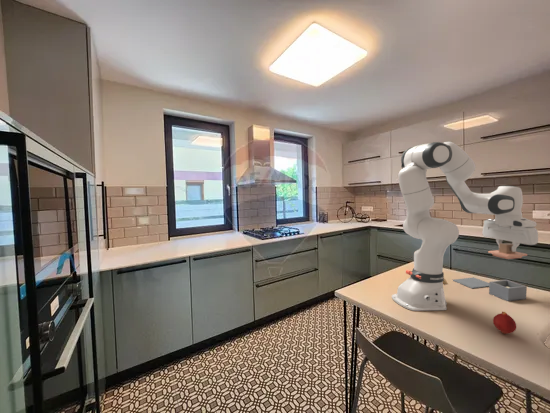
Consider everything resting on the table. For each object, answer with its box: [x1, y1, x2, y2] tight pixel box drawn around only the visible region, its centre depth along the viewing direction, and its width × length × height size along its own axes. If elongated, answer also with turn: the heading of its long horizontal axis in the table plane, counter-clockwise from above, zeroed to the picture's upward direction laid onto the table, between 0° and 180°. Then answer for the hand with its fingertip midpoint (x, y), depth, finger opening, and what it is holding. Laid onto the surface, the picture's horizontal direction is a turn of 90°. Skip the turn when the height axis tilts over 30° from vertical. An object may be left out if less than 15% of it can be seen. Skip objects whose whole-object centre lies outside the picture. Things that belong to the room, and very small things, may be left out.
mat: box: [452, 277, 489, 290], centre depth 124 cm, size 14×11×1 cm
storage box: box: [488, 279, 528, 302], centre depth 108 cm, size 10×8×6 cm
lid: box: [487, 242, 528, 260], centre depth 108 cm, size 10×8×6 cm
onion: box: [492, 311, 517, 335], centre depth 82 cm, size 6×6×8 cm
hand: (507, 250), depth 108 cm, fingers closed on lid, 3 cm apart
